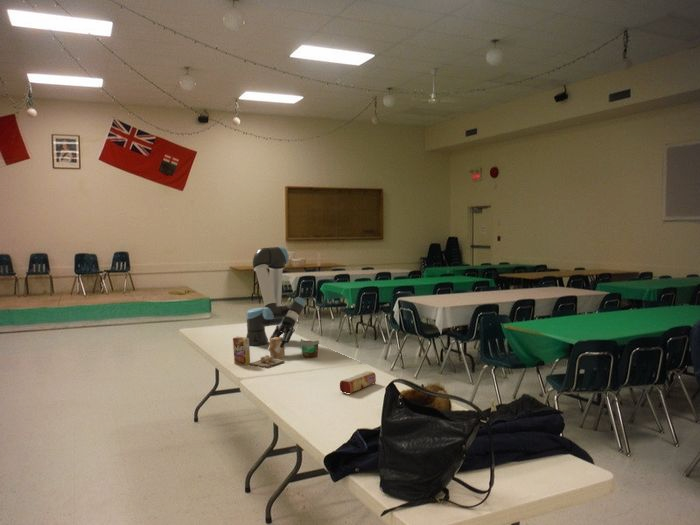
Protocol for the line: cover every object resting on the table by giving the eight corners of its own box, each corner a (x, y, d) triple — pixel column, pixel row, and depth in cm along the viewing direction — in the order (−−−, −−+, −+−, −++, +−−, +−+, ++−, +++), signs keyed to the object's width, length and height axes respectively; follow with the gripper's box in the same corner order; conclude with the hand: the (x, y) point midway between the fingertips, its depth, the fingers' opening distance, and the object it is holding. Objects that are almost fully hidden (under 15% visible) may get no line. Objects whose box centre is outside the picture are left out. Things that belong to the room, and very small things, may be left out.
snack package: (366, 382, 272) (366, 368, 271) (377, 384, 267) (377, 370, 267) (339, 393, 255) (338, 379, 255) (350, 396, 251) (349, 381, 250)
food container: (296, 357, 326) (295, 341, 325) (302, 355, 331) (301, 338, 330) (314, 359, 320) (313, 342, 319) (319, 356, 325) (319, 340, 325)
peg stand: (249, 365, 312) (249, 358, 312) (267, 359, 323) (266, 352, 323) (267, 368, 304) (267, 361, 303) (284, 362, 315) (284, 355, 315)
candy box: (233, 364, 316) (232, 337, 315) (238, 362, 320) (237, 336, 318) (245, 365, 311) (244, 338, 310) (250, 363, 315) (249, 337, 314)
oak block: (270, 356, 330) (269, 338, 329) (277, 354, 335) (276, 336, 334) (277, 358, 326) (277, 339, 326) (284, 355, 331) (283, 337, 330)
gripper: (275, 314, 343) (258, 346, 331) (299, 317, 331) (281, 349, 319) (282, 321, 347) (264, 352, 335) (305, 324, 336) (288, 356, 324)
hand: (273, 351), depth 327 cm, fingers closed on oak block, 6 cm apart
